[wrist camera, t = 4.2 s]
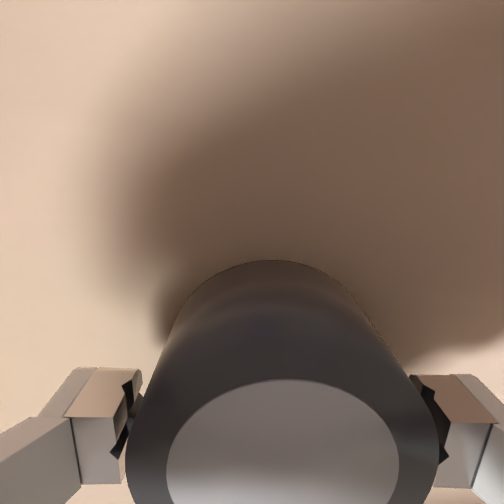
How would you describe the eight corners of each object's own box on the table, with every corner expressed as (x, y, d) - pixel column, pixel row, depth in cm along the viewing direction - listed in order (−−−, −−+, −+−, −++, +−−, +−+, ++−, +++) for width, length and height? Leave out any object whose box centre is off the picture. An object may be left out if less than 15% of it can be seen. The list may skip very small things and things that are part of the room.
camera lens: (317, 221, 9) (371, 280, 5) (396, 384, 11) (480, 520, 7) (130, 316, 10) (55, 429, 6) (231, 454, 11) (223, 610, 8)
